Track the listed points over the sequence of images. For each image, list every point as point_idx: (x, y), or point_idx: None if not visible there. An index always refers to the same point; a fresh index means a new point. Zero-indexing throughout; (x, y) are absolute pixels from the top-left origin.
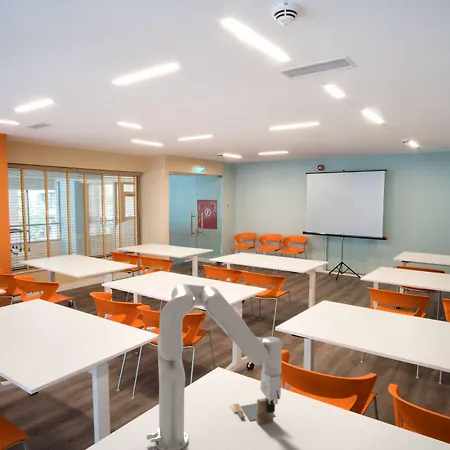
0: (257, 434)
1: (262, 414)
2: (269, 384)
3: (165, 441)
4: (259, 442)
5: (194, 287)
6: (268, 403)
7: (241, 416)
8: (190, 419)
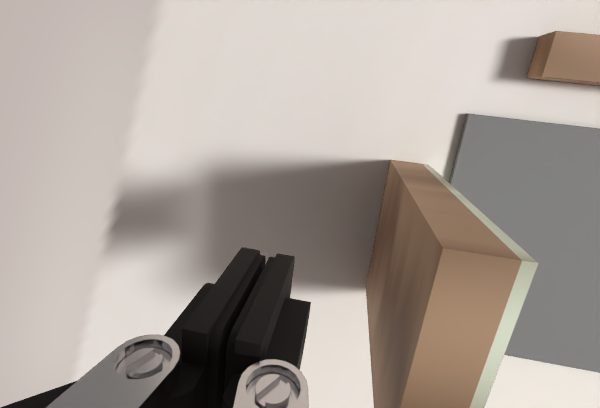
0: (277, 84)
1: (392, 226)
2: None
3: None
4: (185, 49)
5: None
6: (173, 343)
7: (563, 41)
8: None
